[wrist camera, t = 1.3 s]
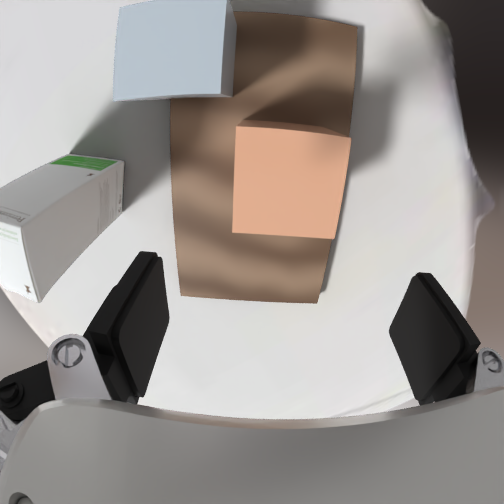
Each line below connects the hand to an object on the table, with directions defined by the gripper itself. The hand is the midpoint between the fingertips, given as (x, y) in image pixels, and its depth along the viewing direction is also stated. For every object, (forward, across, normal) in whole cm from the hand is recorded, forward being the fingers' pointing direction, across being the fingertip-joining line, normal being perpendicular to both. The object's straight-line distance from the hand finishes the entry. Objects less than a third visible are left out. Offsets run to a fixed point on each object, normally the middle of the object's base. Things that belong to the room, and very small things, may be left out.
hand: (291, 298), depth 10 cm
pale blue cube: (+17, +8, -10) cm, 21 cm away
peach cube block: (+17, -1, -2) cm, 17 cm away
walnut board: (+19, +1, -1) cm, 19 cm away
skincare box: (+19, +19, +2) cm, 27 cm away
